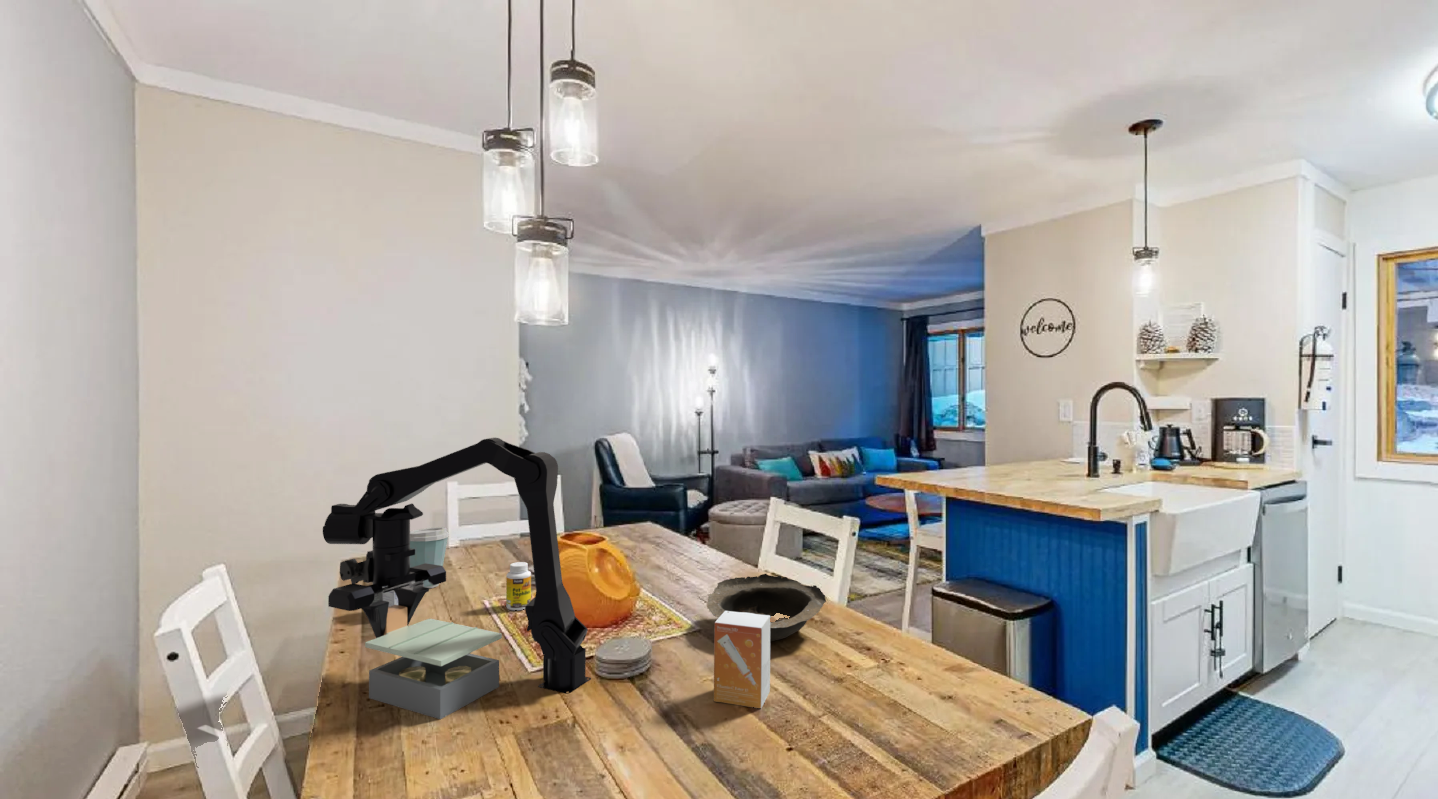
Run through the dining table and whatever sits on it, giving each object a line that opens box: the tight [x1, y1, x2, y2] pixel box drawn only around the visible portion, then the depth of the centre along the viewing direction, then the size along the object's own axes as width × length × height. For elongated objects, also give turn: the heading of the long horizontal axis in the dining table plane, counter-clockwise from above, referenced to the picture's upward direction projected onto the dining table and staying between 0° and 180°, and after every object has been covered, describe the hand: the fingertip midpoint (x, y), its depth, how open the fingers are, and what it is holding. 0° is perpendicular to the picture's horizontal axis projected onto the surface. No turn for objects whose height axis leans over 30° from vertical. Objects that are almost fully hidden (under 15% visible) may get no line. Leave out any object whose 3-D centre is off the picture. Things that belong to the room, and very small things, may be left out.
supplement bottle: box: [505, 561, 532, 611], centre depth 148 cm, size 6×6×10 cm
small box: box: [713, 611, 771, 709], centre depth 103 cm, size 8×6×13 cm
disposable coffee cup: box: [410, 526, 450, 589], centre depth 165 cm, size 11×11×15 cm
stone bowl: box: [706, 573, 827, 642], centre depth 133 cm, size 25×25×9 cm
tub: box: [368, 653, 500, 720], centre depth 104 cm, size 16×12×5 cm
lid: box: [364, 605, 503, 666], centre depth 104 cm, size 20×12×6 cm, turn 65°
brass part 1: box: [399, 666, 426, 683], centre depth 103 cm, size 4×4×4 cm
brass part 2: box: [445, 666, 471, 684], centre depth 104 cm, size 4×4×4 cm
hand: (391, 635), depth 108 cm, fingers closed on lid, 4 cm apart
